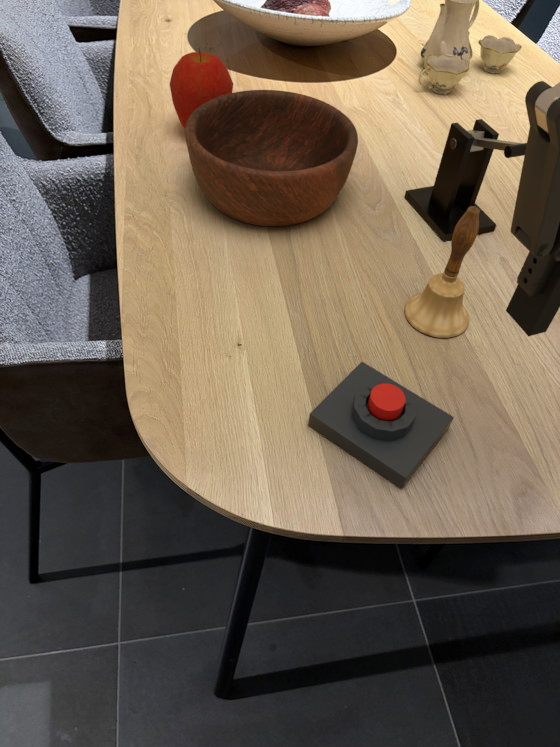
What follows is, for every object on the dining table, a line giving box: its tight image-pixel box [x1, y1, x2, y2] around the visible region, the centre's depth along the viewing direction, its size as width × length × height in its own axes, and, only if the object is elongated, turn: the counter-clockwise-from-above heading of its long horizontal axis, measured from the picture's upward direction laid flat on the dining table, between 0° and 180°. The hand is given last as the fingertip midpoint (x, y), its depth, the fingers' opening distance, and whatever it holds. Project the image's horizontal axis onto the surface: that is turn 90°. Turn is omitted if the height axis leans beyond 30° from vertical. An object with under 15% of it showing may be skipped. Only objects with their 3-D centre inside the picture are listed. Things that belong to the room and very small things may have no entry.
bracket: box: [404, 118, 500, 243], centre depth 88 cm, size 12×9×14 cm
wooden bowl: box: [184, 89, 359, 227], centre depth 91 cm, size 25×25×10 cm
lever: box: [466, 129, 527, 159], centre depth 80 cm, size 13×6×2 cm, turn 21°
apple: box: [169, 47, 234, 129], centre depth 100 cm, size 10×10×14 cm
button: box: [368, 384, 405, 421], centre depth 62 cm, size 4×4×2 cm
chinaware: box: [418, 0, 522, 95], centre depth 121 cm, size 28×17×17 cm, turn 136°
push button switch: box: [307, 361, 455, 490], centre depth 64 cm, size 12×10×4 cm
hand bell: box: [404, 206, 480, 339], centre depth 72 cm, size 8×8×16 cm
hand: (525, 320), depth 42 cm, fingers closed
